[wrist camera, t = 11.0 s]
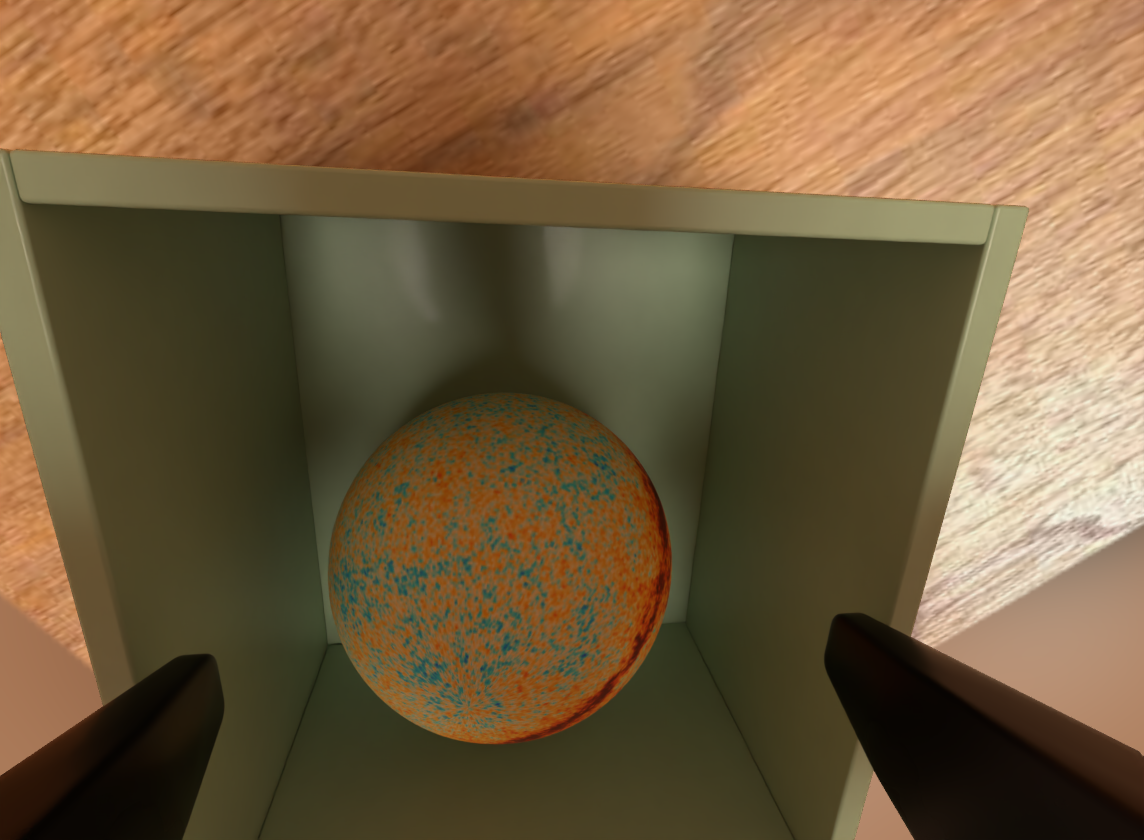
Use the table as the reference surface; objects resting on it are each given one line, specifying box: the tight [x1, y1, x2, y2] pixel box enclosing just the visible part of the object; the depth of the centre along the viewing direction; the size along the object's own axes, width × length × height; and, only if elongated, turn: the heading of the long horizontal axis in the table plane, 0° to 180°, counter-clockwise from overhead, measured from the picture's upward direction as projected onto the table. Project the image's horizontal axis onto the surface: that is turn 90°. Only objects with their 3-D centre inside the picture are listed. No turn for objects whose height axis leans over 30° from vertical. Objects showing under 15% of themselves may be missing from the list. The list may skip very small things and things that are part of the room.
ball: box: [328, 393, 672, 744], centre depth 12 cm, size 7×7×7 cm
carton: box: [0, 148, 1029, 840], centre depth 13 cm, size 13×12×8 cm
